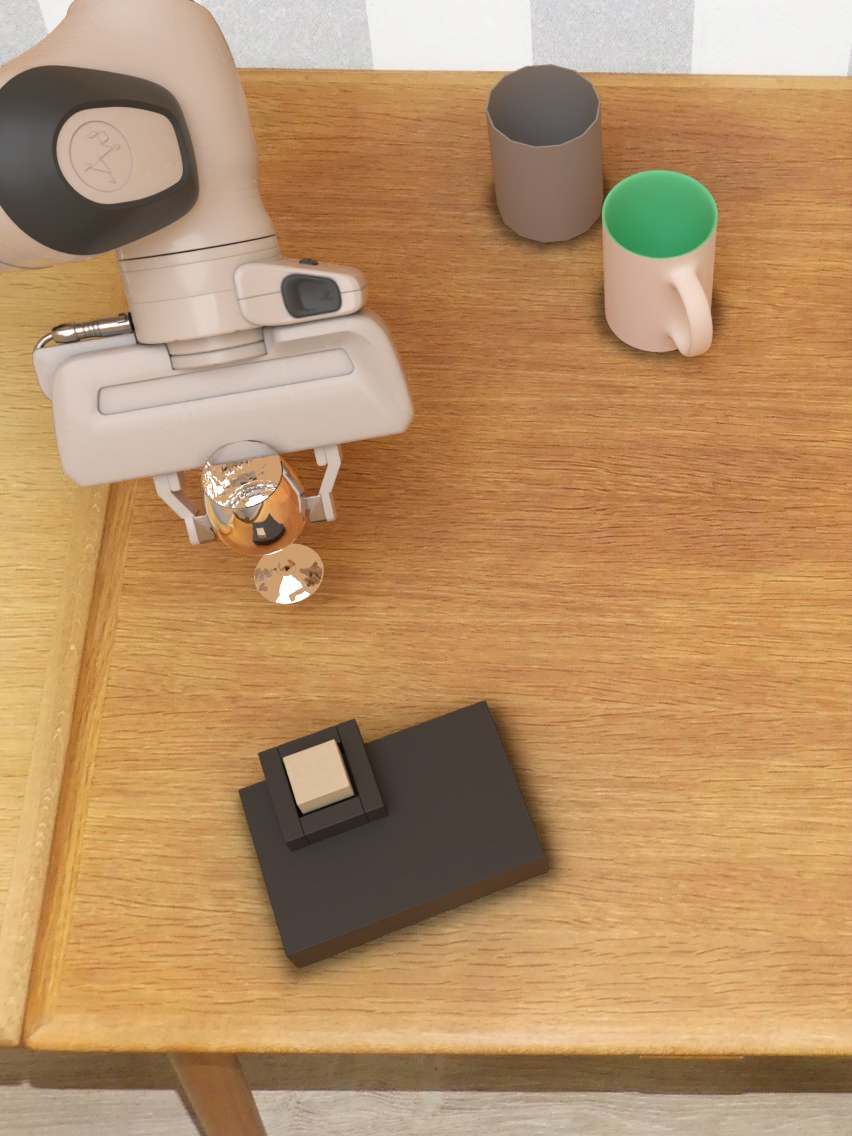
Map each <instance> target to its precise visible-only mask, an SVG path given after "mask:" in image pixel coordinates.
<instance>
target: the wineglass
mask: <svg viewBox="0 0 852 1136" xmlns="http://www.w3.org/2000/svg"><path fill="white" fill-rule="evenodd" d="M246 441H247V442H254V443H257V444H260V445H263V446H265V447H266V448H268V449H270V450H271V451H273V452H274V453H275V454H276V455H274V456H268V457H262V458H256V459H251V460H245V461H239V462H233V463H227V464H222V465H216V466H212V463H213V461H214V459H215V458H216V456H217V454H218V453H219V452H220V451H221V450H223V449H224V448H225V447H227V446H229V445H231V444H233V443H229V444H227V445H225V446H223V447H221V448H219V449H218V450H217V451H215V452H214V453H213V454H212V455H211V456H210V457H209V459H208V460H207V461H206V463H205V465H204V467H203V468H202V470H201V476H200V492H201V498H202V505H203V509H204V510H205V514H206V517H207V519H208V521H209V523H210V525H211V527H212V529H213V531H214V532H215V534H216V535H217V536H218V537H219V538H218V539H219V540H220V541H221V542H222V543H223V544H224V545H225V546H227V548H230V549H231V550H233V551H235V552H237V553H238V554H239V553H240V554H242V555H247V556H252V557H261V558H260V559H259V560H258V561H257V564H256V567H255V569H254V574H253V582H254V586H255V589H256V590H257V592H258V593H259V594H260V596H261V597H262V598H263V599H265V600H267V601H268V602H270V603H273V604H276V605H280V606H281V605H282V606H288V605H295V604H299V603H301V602H303V601H305V600H307V599H309V598H310V597H311V596H313V595H314V594H315V593H316V592H317V590H318V589H319V588H320V587H321V584H322V583H323V579H324V575H325V566H324V562H323V559H322V558H321V556H320V555H319V553H317V551H316V550H314V549H313V548H312V547H310V546H308V545H305V544H302V543H295V541H297V539H298V537H299V536H300V535H301V533H302V532H303V530H304V528H305V526H306V522H307V519H308V513H309V512H308V511H309V510H308V509H307V499H306V490H305V488H304V486H303V483H302V482H301V480H300V478H299V476H298V474H297V473H296V471H295V470H294V469H293V468H292V466H291V465H290V464H289V463H288V461H287V460H286V459H284V457H282V456H281V454H278V453H277V452H276V451H275V450H274V449H273V448H271V447H270V446H269V445H267V444H265V443H262V442H259V441H253V440H246ZM240 442H245V441H240ZM235 443H237V442H235Z"/></svg>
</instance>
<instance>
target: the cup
mask: <svg viewBox="0 0 852 1136" xmlns="http://www.w3.org/2000/svg"><path fill="white" fill-rule="evenodd" d="M484 111H485V117H486V118H485V119H486V127H487V135H488V141H489V150H490V159H491V166H492V167H491V168H492V175H493V183H494V190H495V201H496V208H497V210H498V212H499V215H500V217H501V219H502V222H503V224H504V225H505V226H507V227H508V228H509V229H511V230H512V231H513V232H514V233H515V234H517V235H518V236H519V237H521V238H525V239H528V240H532V241H536V242H538V243H539V242H540V243H555V242H556V243H557V242H567V241H570V240H572V239H574V238H576V237H577V236H580V235H582V234H585V233H586V232H588V231H589V230H590V229H591V228H592V226H593V225H594V224H595V223H596V222H597V220H598V219H599V218H600V217H601V216H602V208H603V204H604V170H603V169H604V167H603V164H604V163H603V138H602V137H603V132H602V131H603V129H602V100H601V98H600V96H599V94H598V92H597V89H596V88H595V85H594V83H593V82H592V81H591V80H589V79H588V78H586V77H585V76H584V75H582V74H581V73H579V72H578V71H577V70H575V69H572V68H568V67H565V66H561V65H557V64H552V63H547V64H533V65H525V66H523V67H521V68H517V69H516V70H514V71H511V72H509V73H507V74H504V75H503V76H502V77H501V78H500V79H499V80H498V81H497V83H495V85H494V86H492V88H490V90H489V93H488V95H487V100H486V105H485V109H484Z"/></svg>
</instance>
